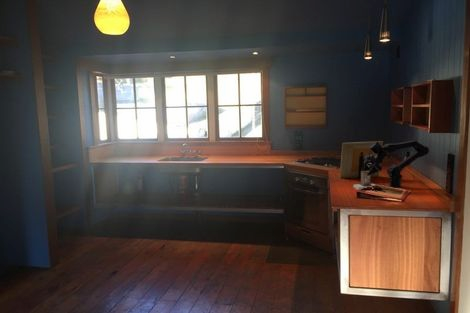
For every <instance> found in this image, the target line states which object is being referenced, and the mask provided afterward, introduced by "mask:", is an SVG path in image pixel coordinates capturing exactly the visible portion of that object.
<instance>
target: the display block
mask: <svg viewBox="0 0 470 313" xmlns="http://www.w3.org/2000/svg"><path fill="white" fill-rule="evenodd" d="M360 184H361V183H359V184H353V188H354V189H356V190H357V191H362V190H361V189H363V188H367V187H370V186H361V185H360ZM371 185H372V186H374V185H375V184H374V183H371Z"/></svg>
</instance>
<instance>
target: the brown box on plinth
mask: <svg viewBox="0 0 470 313" xmlns="http://www.w3.org/2000/svg"><path fill="white" fill-rule="evenodd" d="M368 172H369V171H361V179H360V183H359V184H360V185H361V186H372V185H371V184H372V182H371V175H369V176H368V175H367V174H368Z"/></svg>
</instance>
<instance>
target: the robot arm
mask: <svg viewBox="0 0 470 313" xmlns="http://www.w3.org/2000/svg"><path fill="white" fill-rule="evenodd" d="M374 142H375V141H374ZM369 148H370V149H371V150H372V151H373V152H374V153H375V154H376V153H377V155H376V156H374V155H366V156H365V158H364V159H367V160H369V161H367V160H365V161H364V162H363V163H364V168H363V170H362V171H368V170H370V168H371V170H370V171H369V172H368V174H367V175H368V176H369V175H371V174H374V173H376V172H379V173H380V172H382V170H383V167H382V165H381V164H383V161H384V160H385V159H386V158H389V159H390V158H391V153H393V152H396V151H398V150H402V149H408V148H413V149H414V150H413V153H411V154H410V155H409V156H407V157H406V158H405V159H403V160H402V161H401V162H399V163H398V164H391V165H390V166H388V168H387V169H386V173H387V175H388V177H389V185H388V186H389V187H392V188H402V187H403V186H402V185H401V184H402V179H403V175H402V174H401V172H402V171H403V169H405V168H406V167H407V166H409V165H410V164H412V163H413V162H415V161H416V160H418V159H419V158H422V157H424V156H426V155H428V154H429V152H430V148H429V147H428V146H425V145H423V144H422V143H420V142H419V141H416V140H410V141H405V142H400V143H399V142H397V143H385V144H384V145H383V146H380V145H379V143H378V142H375V143H373V144H372V145H370V147H369ZM370 162H371V163H370ZM379 164H380V165H379Z"/></svg>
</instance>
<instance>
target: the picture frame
mask: <svg viewBox="0 0 470 313" xmlns="http://www.w3.org/2000/svg"><path fill="white" fill-rule="evenodd" d="M375 142H378V143H379V145H380V146H384V145H383V144H384V141H383V140H382V141H379V140H378V141H377V140H376V141H357V142H355V141H353V142H342V145H341V155H340V157H341V158H340V166H339V167H340V171H339V178H340V179H345V178H349V179H350V178H358V180H361V171H362V170H363V168H364V163H363V162H364V161H365V160H367V159H364V158H365V156H366V155H374V156H376V155H377V153H376V154H375V153H374V152H373V151H372V150H371V149H370V148H369V147H370V145H372V144H373V143H375ZM367 161H369V160H367ZM370 163H371V162H370ZM379 165H380V166H381V163H380V164H379ZM370 170H371V168H370ZM370 170H368V171H370ZM379 176H380V171H379V172H376V173H374V174H371V177H372V178H373V177H379Z"/></svg>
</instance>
